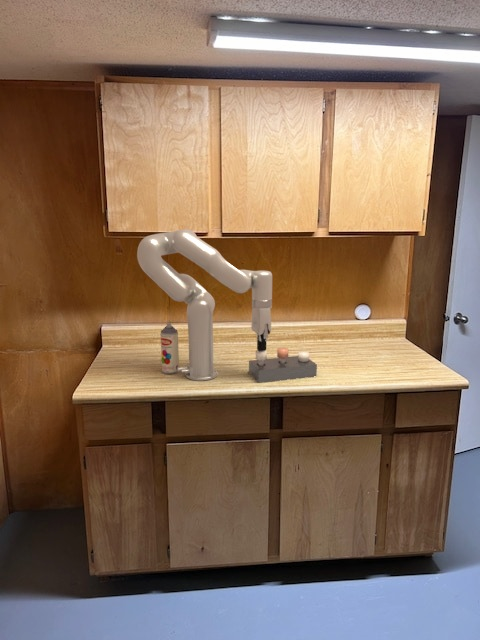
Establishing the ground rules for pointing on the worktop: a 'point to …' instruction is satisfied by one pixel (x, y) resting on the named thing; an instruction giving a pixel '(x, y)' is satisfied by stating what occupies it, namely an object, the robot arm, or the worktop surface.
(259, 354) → the near knob
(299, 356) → the far knob
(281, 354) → the middle knob
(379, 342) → the worktop surface
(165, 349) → the aerosol can
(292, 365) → the knob panel
